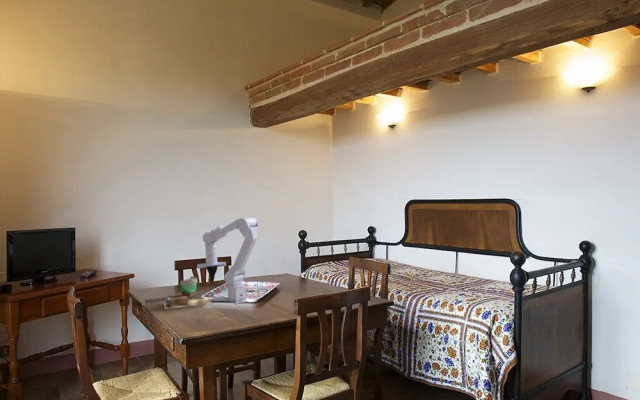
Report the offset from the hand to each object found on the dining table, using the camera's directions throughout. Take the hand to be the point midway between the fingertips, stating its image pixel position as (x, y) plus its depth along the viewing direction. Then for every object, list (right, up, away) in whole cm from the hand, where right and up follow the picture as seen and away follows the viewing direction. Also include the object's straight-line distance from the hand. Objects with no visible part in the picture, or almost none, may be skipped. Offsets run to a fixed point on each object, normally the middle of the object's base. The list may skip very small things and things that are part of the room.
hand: (212, 280), depth 238 cm
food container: (-12, -10, +5) cm, 16 cm away
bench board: (-9, -10, -14) cm, 19 cm away
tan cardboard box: (-13, -9, -16) cm, 22 cm away
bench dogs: (-17, -9, -18) cm, 26 cm away
